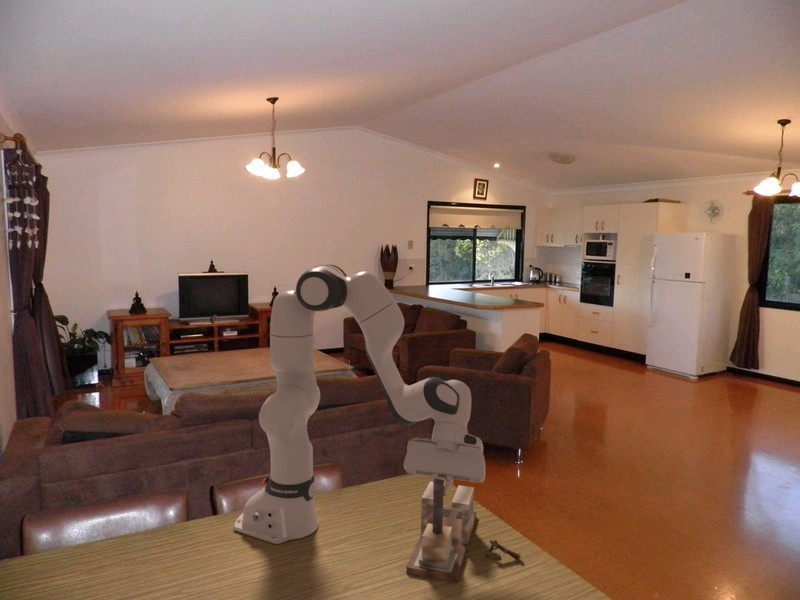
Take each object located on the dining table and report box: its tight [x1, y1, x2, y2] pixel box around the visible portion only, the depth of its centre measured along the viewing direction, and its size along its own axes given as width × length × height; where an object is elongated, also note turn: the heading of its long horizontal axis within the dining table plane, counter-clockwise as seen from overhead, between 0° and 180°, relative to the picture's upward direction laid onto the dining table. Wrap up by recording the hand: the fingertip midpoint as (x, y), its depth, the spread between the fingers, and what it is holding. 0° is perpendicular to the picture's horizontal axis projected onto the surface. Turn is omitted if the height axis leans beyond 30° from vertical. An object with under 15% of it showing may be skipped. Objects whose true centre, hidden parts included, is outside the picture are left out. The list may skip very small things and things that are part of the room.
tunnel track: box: [405, 480, 478, 584], centre depth 143 cm, size 12×31×12 cm, turn 164°
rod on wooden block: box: [419, 478, 454, 569], centre depth 133 cm, size 7×8×19 cm
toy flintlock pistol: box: [486, 539, 522, 563], centre depth 137 cm, size 2×8×4 cm, turn 80°
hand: (439, 494), depth 134 cm, fingers closed, pressing on rod on wooden block
